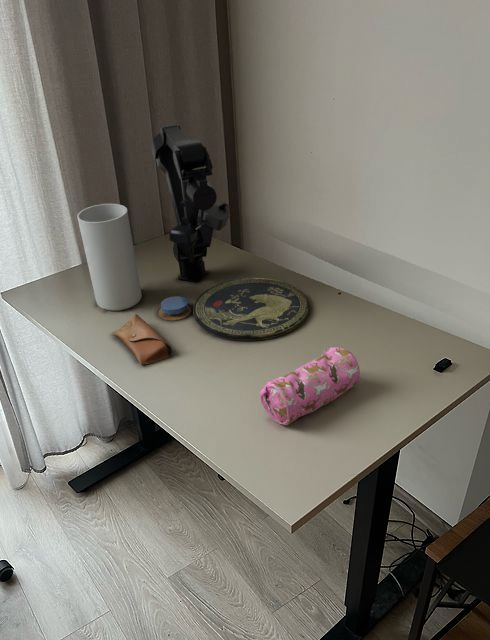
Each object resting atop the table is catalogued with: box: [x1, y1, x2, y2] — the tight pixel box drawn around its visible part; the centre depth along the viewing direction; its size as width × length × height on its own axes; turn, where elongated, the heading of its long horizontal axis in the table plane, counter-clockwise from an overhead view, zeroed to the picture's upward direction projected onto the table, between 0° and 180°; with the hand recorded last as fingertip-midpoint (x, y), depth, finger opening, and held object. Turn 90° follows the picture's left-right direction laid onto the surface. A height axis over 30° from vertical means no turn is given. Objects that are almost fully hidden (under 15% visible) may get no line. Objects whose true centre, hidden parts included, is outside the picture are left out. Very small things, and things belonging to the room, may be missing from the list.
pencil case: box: [259, 346, 361, 426], centre depth 122 cm, size 21×9×9 cm, turn 128°
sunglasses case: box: [112, 313, 173, 366], centre depth 146 cm, size 18×7×7 cm, turn 32°
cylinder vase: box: [76, 203, 143, 312], centre depth 159 cm, size 12×12×25 cm
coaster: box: [158, 305, 192, 322], centre depth 159 cm, size 9×9×1 cm
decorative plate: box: [192, 277, 309, 342], centre depth 156 cm, size 30×2×30 cm
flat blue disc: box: [160, 296, 189, 315], centre depth 158 cm, size 7×7×2 cm
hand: (199, 254), depth 158 cm, fingers open, 9 cm apart
